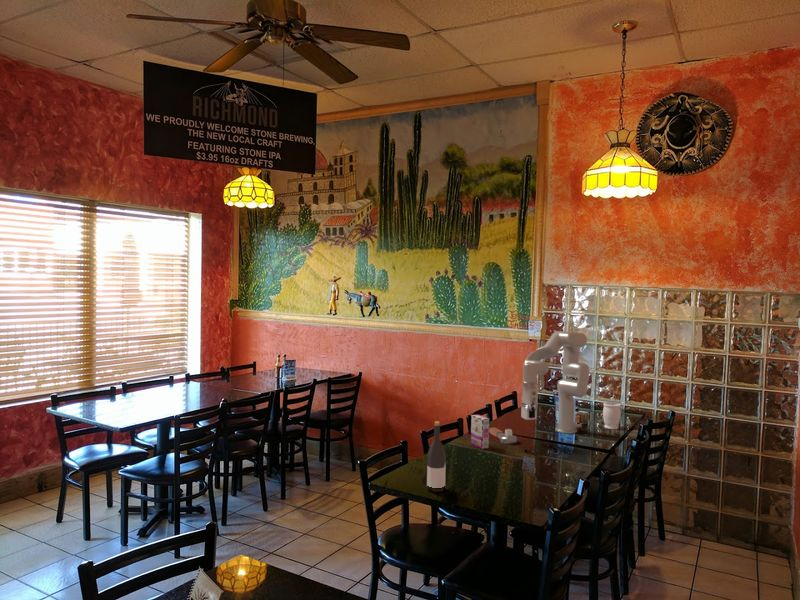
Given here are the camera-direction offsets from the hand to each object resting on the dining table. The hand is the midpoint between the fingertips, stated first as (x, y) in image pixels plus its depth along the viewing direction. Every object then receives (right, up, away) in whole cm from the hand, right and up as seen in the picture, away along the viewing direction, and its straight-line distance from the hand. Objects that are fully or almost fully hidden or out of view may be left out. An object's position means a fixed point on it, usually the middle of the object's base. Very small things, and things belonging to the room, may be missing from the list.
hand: (528, 416), depth 331 cm
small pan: (-13, -15, +11) cm, 23 cm away
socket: (0, -1, 0) cm, 1 cm away
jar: (+59, -15, +36) cm, 71 cm away
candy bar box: (-28, -16, -6) cm, 33 cm away
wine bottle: (-56, -19, -71) cm, 93 cm away
